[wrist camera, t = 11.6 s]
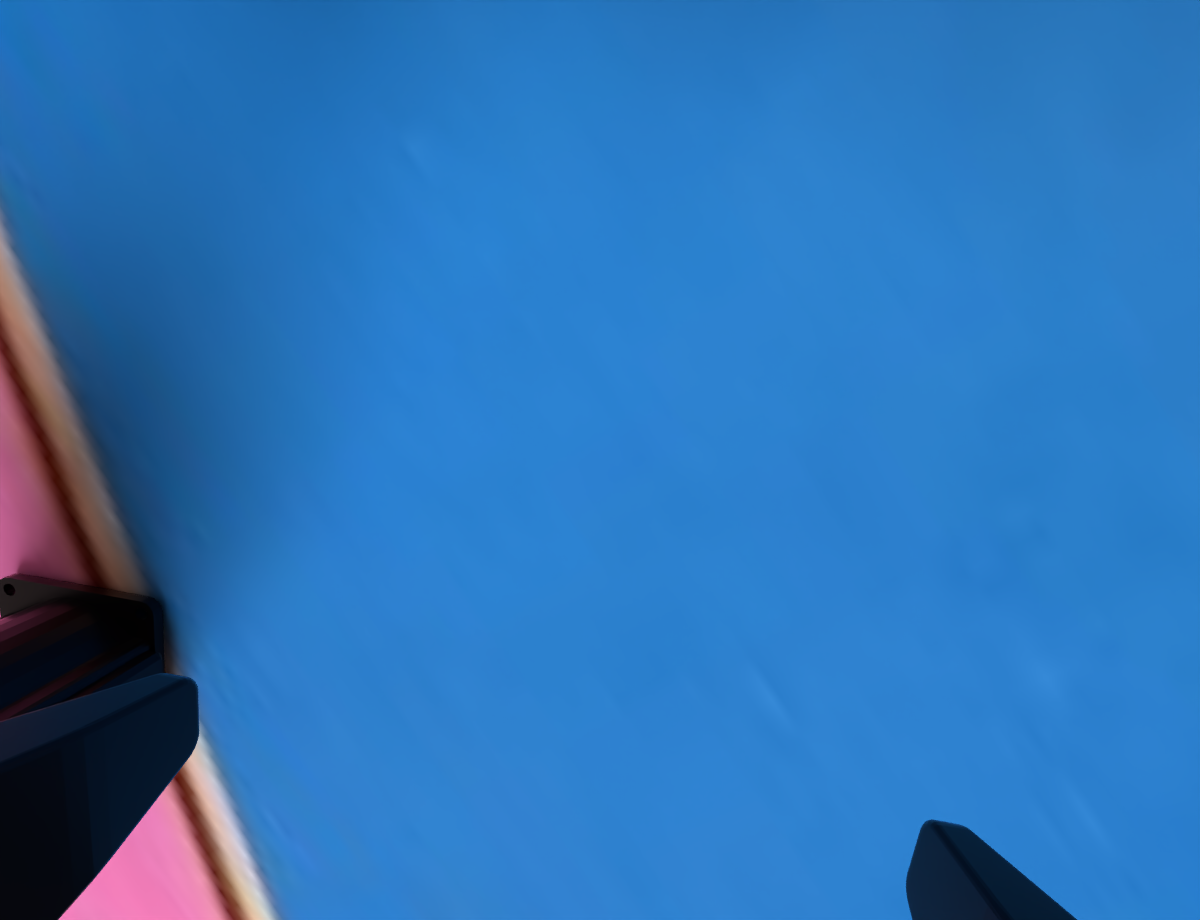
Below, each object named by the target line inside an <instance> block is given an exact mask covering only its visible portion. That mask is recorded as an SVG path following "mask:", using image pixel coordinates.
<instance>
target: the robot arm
mask: <svg viewBox="0 0 1200 920" xmlns="http://www.w3.org/2000/svg"><path fill="white" fill-rule="evenodd" d="M145 610H146V611H147V613H146V612H145ZM0 614H1V617H0V920H58V919H59V918H60V917H61V916H62V915H63V914H64V913H65V912H66V910H67V909H68V908H69V907H70V906H71V905H72V904H73V903H74V902H75V900H76V899H77V898H78V897H79V896H80V895H81V893H82V892H83V891H84V890H85V889H86V888H87V887H88V885H89V884H90V883H91V882H92V881H93V880H94V879H95V877H96V876H97V875H98V874H99V872H100V871H101V870H102V869H103V867H104V866H105V865H106V864H107V862H108V861H109V860H110V859H111V858H112V856H113V855H114V854H115V853H116V851H117V850H118V849H119V847H120V846H121V845H122V843H123V842H124V841H125V840H126V838H127V837H128V836H129V834H130V833H131V832H132V831H133V829H134V828H135V827H136V825H137V824H138V823H139V822H140V820H141V819H142V818H143V816H144V815H145V814H146V813H147V811H148V810H149V809H150V807H151V806H152V805H153V804H154V802H155V801H156V800H157V798H158V797H159V796H160V794H161V793H162V792H163V791H164V789H165V788H166V787H167V785H168V784H169V783H170V782H171V780H172V779H173V778H174V776H175V775H176V774H177V773H178V771H179V770H180V769H181V767H182V766H183V765H184V764H185V762H186V761H187V760H188V758H189V757H190V755H191V754H192V752H193V750H194V749H195V746H196V744H197V741H198V737H199V707H198V686H197V684H196V682H195V681H194V680H193V679H191V678H189V677H184V676H179V675H173V674H168V673H165V664H164V639H163V614H162V607H161V605H160V604H159V602H158V601H157V600H155V599H154V598H151V597H147V596H142V595H136V594H130V593H125V592H119V591H114V590H108V589H102V588H97V587H91V586H86V585H80V584H75V583H69V582H63V581H58V580H52V579H47V578H41V577H35V576H30V575H24V574H13V575H10V576H7V577H5V578H3V579H1V580H0ZM906 893H907V900H908V904H909V908H910V912H911V916H912V920H1077V919H1076V918H1074V917H1073V916H1072V915H1071V914H1070V913H1069V912H1067V911H1066V910H1065V909H1064V908H1063V907H1061V906H1060V905H1059V904H1058V903H1057V902H1055V901H1054V900H1053V899H1052V898H1051V897H1049V896H1048V895H1047V894H1046V893H1045V892H1044V891H1042V890H1041V889H1040V888H1039V887H1038V886H1036V885H1035V884H1034V883H1033V882H1032V881H1030V880H1029V879H1028V878H1027V877H1026V876H1024V875H1023V874H1022V873H1021V872H1020V871H1019V870H1017V869H1016V868H1015V867H1014V866H1013V865H1011V864H1010V863H1009V862H1008V861H1007V860H1005V859H1004V858H1003V857H1002V856H1001V855H1000V854H998V853H997V852H996V851H995V850H994V849H992V848H991V847H990V846H989V845H988V844H986V843H985V842H984V841H983V840H982V839H980V838H979V837H978V836H977V835H976V834H975V833H973V832H972V831H971V830H970V829H968V828H967V827H965V826H962V825H959V824H954V823H948V822H943V821H938V820H928V821H926V822H925V823H924V824H923V825H922V827H921V830H920V833H919V836H918V839H917V843H916V846H915V850H914V853H913V856H912V860H911V863H910V866H909V870H908V873H907V879H906Z"/></svg>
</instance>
